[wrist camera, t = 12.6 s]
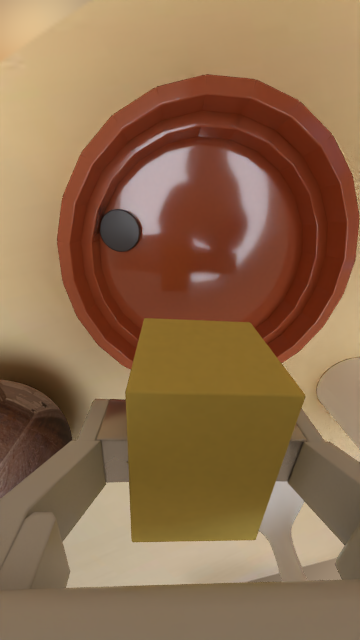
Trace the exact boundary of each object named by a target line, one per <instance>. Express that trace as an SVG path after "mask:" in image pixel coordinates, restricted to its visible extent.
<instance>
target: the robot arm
mask: <svg viewBox="0 0 360 640" xmlns="http://www.w3.org/2000/svg"><path fill="white" fill-rule="evenodd" d="M276 481H282V482H288V484H289V485H290V486H291V487H292V488H293V489H294V490H295V491H296V493H297V494H298V495H299V496H300V497H301V498H302V499H303V500H304V501H305V502H306V503H307V505H308V506H309V507H310V508H311V509H312V510H313V511H314V512H315V513H316V514H317V516H318V517H319V518H320V519H321V520H322V521H323V522H324V523H325V524H326V525H327V526H328V528H329V529H330V530H331V531H332V532H333V533H334V534H335V535H336V536H337V537H338V538H339V540H340V541H341V542H342V543H343V544H344V545H345V546H344V548H343V549H342V551H341V553H340V554H339V556H338V557H337V559H336V563H335V566H336V568H337V570H338V572H339V574H340V576H341V578H342V580H317V581H316V580H315V581H281V582H247V583H214V584H180V585H146V586H113V587H80V588H66V585H67V582H68V578H69V574H70V569H69V565H68V561H67V558H66V554H65V550H64V546H63V543H62V542H63V540H64V539H65V538H66V536H67V535H68V534H69V533H70V531H71V530H72V529H73V527H74V526H75V525H76V523H77V522H78V521H79V519H80V518H81V517H82V515H83V514H84V513H85V511H86V510H87V509H88V507H89V506H90V505H91V503H92V502H93V501H94V499H95V498H96V497H97V495H98V494H99V493H100V491H101V490H102V489H103V487H104V486H105V485H106V482H129V465H128V442H127V418H126V400H119V399H110V400H109V399H95V400H94V401H93V402H92V405H91V407H90V409H89V412H88V414H87V417H86V419H85V421H84V424H83V426H82V429H81V431H80V433H79V436H78V438H77V440H71V441H70V442H69V443H68V444H67V445H65V446H64V447H63V448H62V449H61V450H59V451H58V452H57V453H56V454H54V455H53V456H52V457H51V458H50V459H48V460H47V461H46V462H45V463H43V464H42V465H41V466H40V467H39V468H37V469H36V470H35V471H34V472H32V473H31V474H30V475H29V476H28V477H26V478H25V479H24V480H23V481H22V482H20V483H19V484H18V485H17V486H15V487H14V488H13V489H12V490H11V491H9V492H8V493H7V494H6V495H4V496H3V497H2V498H1V499H0V640H360V462H358V461H357V460H355V459H354V458H352V457H351V456H349V455H348V454H347V453H345V452H344V451H342V450H341V449H339V448H338V447H336V446H335V445H333V444H332V443H330V442H325V441H324V440H323V438H322V437H321V435H320V434H319V432H318V431H317V430H316V428H315V427H314V425H313V424H312V422H311V421H310V419H309V418H308V417H307V415H306V414H305V412H304V411H303V409H302V408H301V411H300V413H299V416H298V419H297V422H296V425H295V428H294V431H293V434H292V436H291V439H290V442H289V445H288V448H287V451H286V454H285V456H284V459H283V462H282V465H281V468H280V471H279V474H278V477H277V479H276Z"/></svg>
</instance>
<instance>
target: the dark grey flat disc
mask: <svg viewBox="0 0 360 640" xmlns="http://www.w3.org/2000/svg"><path fill="white" fill-rule="evenodd" d="M99 231H100V235H101V238H102V240H103V242H104V243H105V244H106V245H107V246H108V247H109V248H111V249H112V250H115V251H118V252H125V251H129V250H131V249H132V248H133V247H135V246H136V245H137V244H138V242H139V240H140V237H141V226H140V223H139V221H138V220H137V218H136V217H135V216H134V215H133V214H132V213H130V212H129V211H126V210H122V209H114V210H110V211H108V212H107V213H106V214H105V215H104V216H103V217H102V219H101V222H100V226H99Z"/></svg>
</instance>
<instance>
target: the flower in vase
mask: <svg viewBox="0 0 360 640" xmlns="http://www.w3.org/2000/svg"><path fill="white" fill-rule="evenodd" d="M303 503H304V500H303V499H302V498H301V497H300V496H299V495H298V494H297V493H296V491H295V490H294V489H293V488H292V487H291V486H290V485H289V484H288V482H282V481H276V482H275V485H274V488H273V491H272V494H271V497H270V499H269V502H268V505H267V508H266V511H265V514H264V517H263V520H262V522H261V525H260V528H259V532H261V533H262V534H263V535H264V536H265V537H266V538H267V540H268V541H269V543H270V545H271V547H272V550H273V552H274V555H275V558H276V561H277V565H278V568H279V572H280V575H281V579H282V581H308V580H307V578H306V576H305V574H304V572H303V569H302V567H301V564H300V562H299V559H298V557H297V554H296V551H295V548H294V545H293V541H292V537H291V529H292V524H293V522H294V520H295V518H296V516H297V515H298V513H299V511H300V509H301V507H302V505H303Z"/></svg>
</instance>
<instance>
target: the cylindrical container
mask: <svg viewBox="0 0 360 640" xmlns="http://www.w3.org/2000/svg"><path fill="white" fill-rule="evenodd" d="M317 396H318V399H319V401H320V402H321V403H322V404H323V406H324V407H325V408H326V409H327V411H328V412H329V413H330V414H331V415H332V417H333V418H334V419H335V420H336V422H337V423H338V424H339V425H340V426H341V428H342V429H343V430H344V431H345V432H346V434H347V435H348V436H349V437H350V439H351V440H352V441H353V442H354V443H355V445H356V446H357V447H358V448H359V450H360V358H351V359H347V360H344V361H342V362H339V363H337V364H336V365H334V366H332V367H331V368H330V369H329V370H327V371H326V372H325V374H324V375H323V376H322V377H321V379H320V381H319V383H318V386H317Z"/></svg>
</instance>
